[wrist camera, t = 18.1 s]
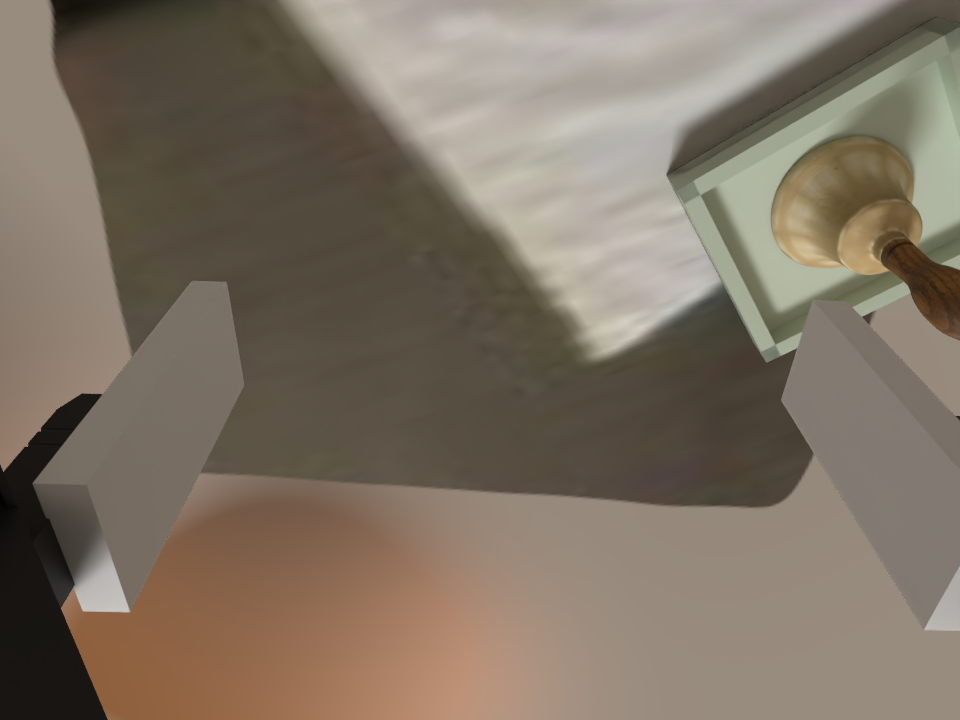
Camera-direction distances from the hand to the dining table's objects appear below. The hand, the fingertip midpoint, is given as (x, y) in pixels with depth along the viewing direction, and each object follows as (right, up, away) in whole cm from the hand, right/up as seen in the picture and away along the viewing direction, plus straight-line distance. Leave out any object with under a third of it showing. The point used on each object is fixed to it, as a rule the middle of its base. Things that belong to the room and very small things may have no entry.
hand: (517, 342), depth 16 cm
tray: (+21, +10, +28) cm, 36 cm away
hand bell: (+21, +9, +27) cm, 35 cm away
